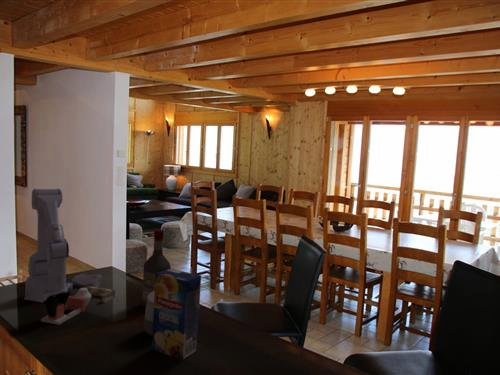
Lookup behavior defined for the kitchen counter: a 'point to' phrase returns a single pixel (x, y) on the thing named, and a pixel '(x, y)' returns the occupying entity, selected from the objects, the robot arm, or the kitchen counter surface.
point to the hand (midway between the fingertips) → (55, 314)
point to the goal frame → (102, 293)
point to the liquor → (154, 266)
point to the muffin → (84, 295)
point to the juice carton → (176, 313)
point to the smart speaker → (149, 314)
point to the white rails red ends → (71, 304)
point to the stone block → (87, 280)
